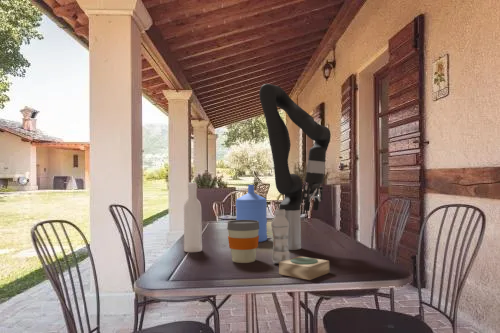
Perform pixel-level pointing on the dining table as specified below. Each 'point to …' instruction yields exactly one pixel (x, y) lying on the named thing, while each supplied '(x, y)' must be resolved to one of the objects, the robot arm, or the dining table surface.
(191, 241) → the bottle
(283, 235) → the plastic bottle
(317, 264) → the base block
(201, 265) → the dining table surface
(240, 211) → the water jug
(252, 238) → the reusable coffee cup
